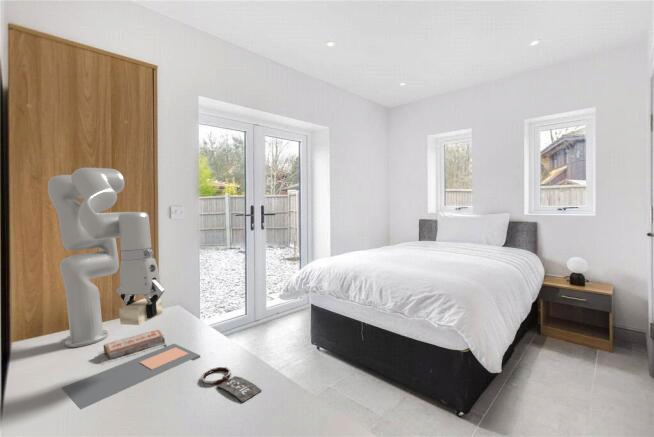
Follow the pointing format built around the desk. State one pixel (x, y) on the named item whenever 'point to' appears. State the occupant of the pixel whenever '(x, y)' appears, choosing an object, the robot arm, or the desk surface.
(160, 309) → the birch tile
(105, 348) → the packaged product
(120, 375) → the mat
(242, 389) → the keychain
